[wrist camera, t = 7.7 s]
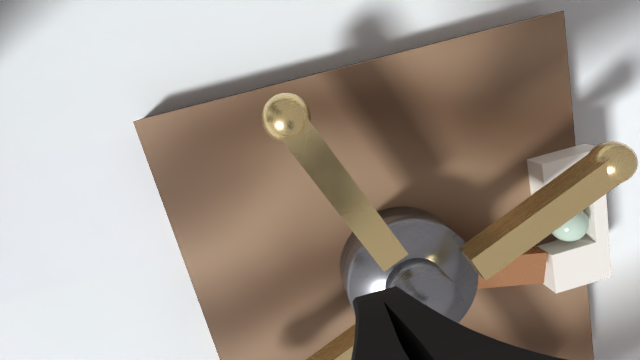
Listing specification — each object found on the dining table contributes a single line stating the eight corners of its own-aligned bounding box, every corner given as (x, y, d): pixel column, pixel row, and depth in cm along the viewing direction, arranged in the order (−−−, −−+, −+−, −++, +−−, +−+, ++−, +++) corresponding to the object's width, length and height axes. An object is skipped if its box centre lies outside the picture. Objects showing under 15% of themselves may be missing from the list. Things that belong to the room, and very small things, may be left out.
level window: (594, 266, 23) (621, 282, 21) (541, 282, 23) (564, 299, 21) (584, 143, 21) (612, 149, 20) (526, 159, 21) (550, 167, 19)
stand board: (576, 351, 26) (594, 367, 25) (261, 449, 25) (260, 472, 24) (543, 15, 21) (563, 10, 20) (142, 118, 20) (133, 121, 18)
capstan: (350, 497, 25) (368, 587, 21) (85, 235, 19) (33, 281, 15) (650, 285, 24) (735, 332, 20) (463, -55, 18) (525, -95, 14)
